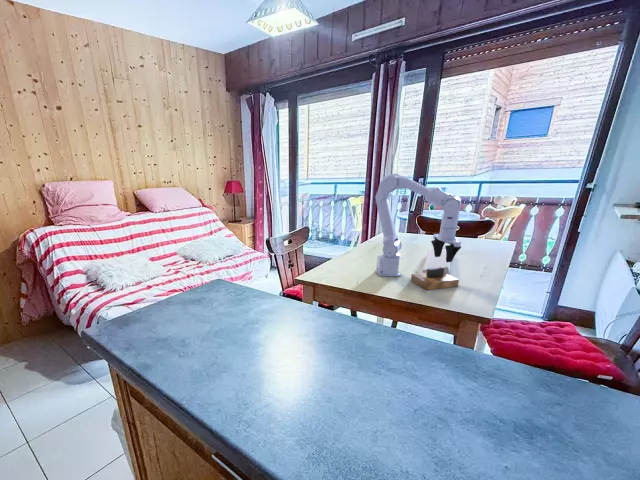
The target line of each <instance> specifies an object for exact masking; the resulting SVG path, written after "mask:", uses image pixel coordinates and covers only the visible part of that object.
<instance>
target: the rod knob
mask: <svg viewBox="0 0 640 480" xmlns="http://www.w3.org/2000/svg"><path fill="white" fill-rule="evenodd" d="M443 274H444V268H443V267H440V268H430V269H427V276H426V277H428V278H433V277H443Z"/></svg>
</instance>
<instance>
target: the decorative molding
mask: <svg viewBox="0 0 640 480" xmlns="http://www.w3.org/2000/svg"><path fill="white" fill-rule="evenodd" d="M424 260H425V261H424V264H423V267H422V273H427V269H430V268H440V267H443V268H444V273H446V274H448V275H450V273H451V272H450V271H451V262H446V248H445V247H443V249H442V253H441V256H440V257H435V254H434V248H433V249H427V252H426V256H425V259H424Z"/></svg>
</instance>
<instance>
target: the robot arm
mask: <svg viewBox="0 0 640 480" xmlns="http://www.w3.org/2000/svg"><path fill="white" fill-rule="evenodd" d="M377 188H378V189H377V192H376V193H375V197H374V198H375V203H376V208H377V211H378V217H379V221H380V225H381V230H382V236H383V239H382V243H383V247H382V254H381V255H377V256H376V257H377V258H376V265H375V266H376V267H375V273H376V274H377V275H378V276H379V277H401V273H400V272H399V268H400V259H401V254H400V252H399V251H400V250H401V249H402V247H403V246H402V245H403V244H402V242H401V240H400V239H399V237H398V234H397V233H396V229H395V223H394V220H393V219H394V218H393V213H392V209H391V205H390V201H389V199H390V196H391V195H392V194H393V193H394V191H396V190H403V189H407V190H409V191H412V192H414V193H416V194H418V195H421V196H423V197H424V199H425V201H426V202H428V203H430V204H432V205H434V206H436V207H438V208H442V209H443V214H442V216H441V221H440V228H439V229H440V230H439V233H433V235H432V240H431V241H430V243H431V245H432V247H433V249H434V254H435V257H440V256H441V253H442V249H443V248H446V262H450V263H452V262H453V260H454V258H455V256H456V255H457V253H458V252H459V251H460V249H461V248H462V246H461V244H462V243H461V242H462V241H459V240H458V237H456V232H457V228H458V224H459V215H460V209H461V206H462V200H461V198H460V197H459V196H457V195H453V193H451V192H450V193H447V192H445V191H443V190H442V188H441V187H439V186H438V187H431V188H428V187H426V186H425V185H423V184H420V183H419V182H417V181H415V180H413V179H411V178H409V177H406V176H404V175H400V174H398V173H391V174H388V175H386V176H385V177H383V178H382V180H381V181H380V182H379V183H378V187H377ZM445 244H447V245H445Z"/></svg>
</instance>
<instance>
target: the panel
mask: <svg viewBox="0 0 640 480" xmlns="http://www.w3.org/2000/svg"><path fill="white" fill-rule="evenodd" d="M426 276H427V273H424V272H419V273H418V272H417V273H412V274H411V276H410V281H411V282H412V283H414V284H416V285H418V286H419V287H420V288H421V289H424V290H427V291H429V290H438V289H446V288H455V287H459V284H460V283H459V281H460V279H458V278H457V277H454V276H452V275H448V274H446V273H444V274H443V277H433V278H428V277H426Z"/></svg>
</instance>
